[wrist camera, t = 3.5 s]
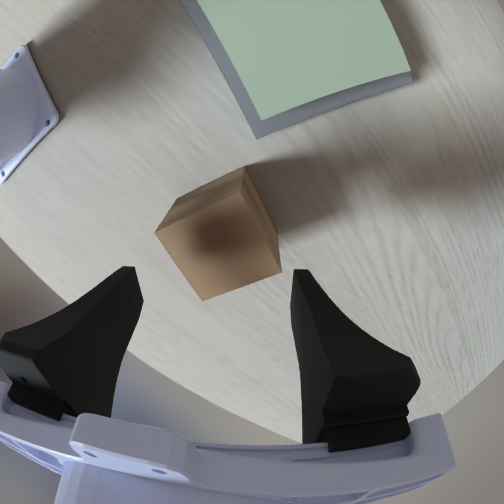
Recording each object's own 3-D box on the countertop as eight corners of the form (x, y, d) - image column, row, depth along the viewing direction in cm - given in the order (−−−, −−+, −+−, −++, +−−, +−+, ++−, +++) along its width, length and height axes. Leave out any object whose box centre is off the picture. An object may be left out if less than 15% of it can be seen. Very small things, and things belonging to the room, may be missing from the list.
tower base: (256, 133, 17) (256, 139, 15) (186, 5, 13) (176, -6, 11) (395, 82, 15) (413, 82, 13) (330, -44, 10) (339, -58, 8)
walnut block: (212, 256, 21) (202, 301, 17) (177, 198, 19) (154, 232, 15) (276, 230, 20) (281, 272, 16) (244, 165, 18) (240, 191, 14)
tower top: (261, 116, 15) (261, 120, 12) (197, -2, 11) (186, -16, 9) (390, 71, 13) (411, 70, 11) (330, -44, 9) (341, -61, 7)
